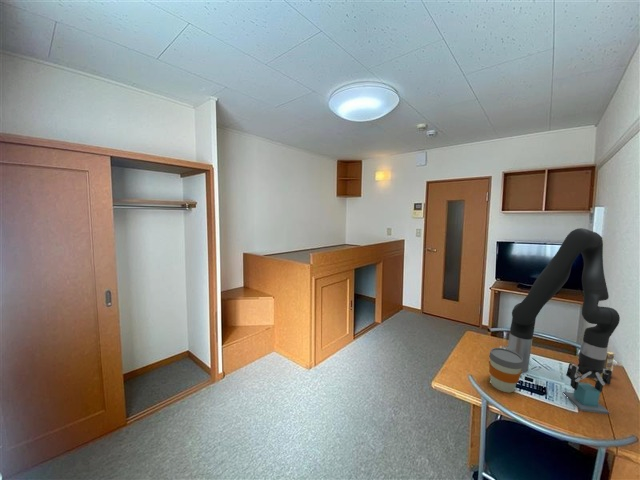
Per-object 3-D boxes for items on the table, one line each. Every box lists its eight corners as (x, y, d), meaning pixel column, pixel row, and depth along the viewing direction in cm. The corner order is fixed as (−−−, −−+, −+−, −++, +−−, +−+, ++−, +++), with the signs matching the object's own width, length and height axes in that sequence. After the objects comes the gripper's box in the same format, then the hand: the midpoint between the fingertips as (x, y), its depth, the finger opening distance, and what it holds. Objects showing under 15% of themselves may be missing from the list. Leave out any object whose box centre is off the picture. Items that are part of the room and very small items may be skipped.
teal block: (583, 404, 110) (585, 390, 109) (573, 396, 115) (575, 381, 115) (597, 406, 110) (600, 391, 109) (586, 397, 115) (589, 383, 114)
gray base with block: (581, 410, 108) (583, 396, 108) (562, 393, 118) (564, 380, 117) (609, 414, 107) (612, 399, 106) (588, 396, 117) (590, 383, 116)
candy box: (609, 383, 126) (615, 353, 124) (602, 385, 125) (608, 354, 123) (587, 372, 135) (592, 343, 132) (580, 373, 134) (585, 344, 131)
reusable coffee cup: (479, 380, 126) (483, 350, 124) (497, 374, 131) (501, 345, 129) (507, 398, 114) (512, 365, 112) (525, 391, 119) (530, 359, 117)
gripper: (580, 356, 107) (573, 393, 109) (621, 361, 105) (613, 399, 107) (566, 346, 114) (560, 381, 117) (604, 351, 112) (597, 386, 114)
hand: (585, 390), depth 112 cm, fingers open, 8 cm apart
